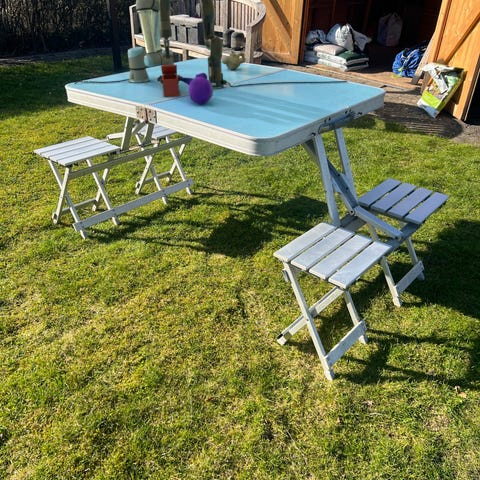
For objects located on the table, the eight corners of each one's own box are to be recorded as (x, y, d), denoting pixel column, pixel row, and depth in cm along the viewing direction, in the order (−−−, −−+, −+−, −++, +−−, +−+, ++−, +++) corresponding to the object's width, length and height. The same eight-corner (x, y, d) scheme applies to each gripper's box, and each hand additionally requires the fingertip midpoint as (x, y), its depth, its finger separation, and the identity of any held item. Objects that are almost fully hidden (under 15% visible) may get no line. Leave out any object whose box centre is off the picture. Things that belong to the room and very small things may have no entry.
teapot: (225, 71, 366) (225, 52, 358) (219, 69, 374) (218, 50, 367) (248, 69, 375) (247, 49, 367) (241, 67, 383) (240, 48, 376)
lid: (176, 66, 284) (175, 52, 284) (161, 66, 283) (159, 53, 282) (177, 73, 302) (175, 61, 302) (162, 74, 301) (160, 61, 300)
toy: (201, 95, 293) (213, 109, 272) (175, 90, 286) (185, 105, 265) (206, 70, 285) (219, 83, 264) (179, 65, 278) (190, 78, 257)
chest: (179, 96, 293) (177, 78, 288) (164, 97, 292) (162, 79, 287) (178, 90, 308) (177, 73, 303) (163, 91, 307) (162, 74, 301)
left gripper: (186, 80, 323) (187, 86, 304) (154, 81, 321) (154, 88, 302) (185, 69, 320) (186, 74, 301) (153, 70, 317) (152, 76, 298)
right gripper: (171, 29, 273) (174, 59, 282) (171, 27, 285) (173, 56, 293) (159, 29, 272) (162, 60, 281) (159, 28, 284) (162, 57, 293)
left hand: (170, 81), depth 301 cm, fingers closed on chest, 10 cm apart
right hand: (168, 58), depth 287 cm, fingers closed on lid
